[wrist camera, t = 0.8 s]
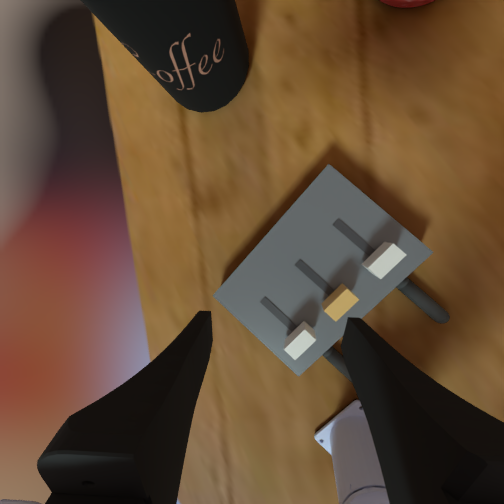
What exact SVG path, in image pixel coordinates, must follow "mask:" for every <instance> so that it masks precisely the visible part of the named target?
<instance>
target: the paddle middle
mask: <svg viewBox="0 0 504 504" xmlns="http://www.w3.org/2000/svg"><path fill="white" fill-rule="evenodd" d="M358 300H359V299H358V298H357V296H356V295H355V294H354V293H353V292H352V291H351V290H349V289H348V288H347V287H346V286H345V285H344V284H343V283H342V284H341V285H340V286H339V287H338V288H337V289H336V290H335V291H334V292H333V293H332V294H331V295H330V296H329V297H328V298H327V299H326V300H325V301H323V302H322V303H321V304H322V307H323V310H324V312H326V313H327V314H328V315H329V316H330V317H331V318H332V319H333V320H334V321H337V320H338V319H339V318H340V317H342V316H343V315H344V314H345V313H346V312H347V311H348V310H349V309H350V308H351V307H352V306H353V305H354V304H355V303H356V302H357V301H358Z"/></svg>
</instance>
